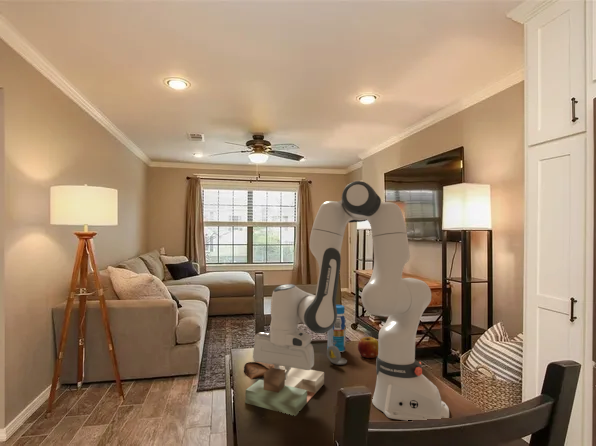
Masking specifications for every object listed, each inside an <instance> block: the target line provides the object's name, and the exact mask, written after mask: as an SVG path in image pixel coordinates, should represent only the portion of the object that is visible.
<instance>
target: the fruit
mask: <svg viewBox="0 0 596 446" xmlns="http://www.w3.org/2000/svg"><path fill="white" fill-rule="evenodd" d="M357 350H358V352H359V354H360V355H361V356H362V357H364V358H365V359H374V358H377V356H378V340H377V338H374V337H372V336H365V337H362V338H361V339H360V340H358V342H357Z"/></svg>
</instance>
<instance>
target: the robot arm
mask: <svg viewBox="0 0 596 446" xmlns="http://www.w3.org/2000/svg"><path fill="white" fill-rule="evenodd" d="M366 221H368V224H369V225H370V229H371V230H370V231H371V239H372V248H373V249H372V250H373V268H372V273H371V276H370V278H369V281H368V282H367V284H366V285H364V287H363V289H362V292H361V296H360V297H361V303H362V306H363V308H364V309H365V311H366V312H367V313H368V314H370V315H372V316H376V317H378V316H379V317H387V319H386V321H385V323H384V324H383V325H382V327H381V328H380V329H379V332H378V340H377V341H378V355H377V356H376V361H375V370H376V382H375V388H374V393H373V395H372V398H373V399H372V398H371V401H372V402H371V403H372V404H373V405H374V407H375V408H376V409H378V410H379V411H381V412H383V414H384V415H385V416H386V417H387V418H389V419H393V420H401V421H408V420H427V419H441V418H449V419H450V409H449V406H448V405H447V404H446V402H444V401H443V400H442V397H441V393H440V391H439V388H438V387H437V385H435V384H434V383H433V382H432V381H431V380H430V379H429V378H427V377H426V376H425V375H424V374H423V368H422V362H421V361H418V360H417V359H415V358H416V338H417V331H418V327H419V324H420V321H421V318H422V316H423V313H424V312H425V310H426V309H427V307H428V306H429V305H430V304H431V301H432V290H431V288H430V286H429V285H428V284H427V282H425V281H424V280H421V279H418V278H413V277H404V278H403V272H404V269H405V268H404V267H405V266H406V264H407V263H408V262H409V260H410V259H411V254H410V245H409V239H408V234H407V232H408V231H407V226H406V222H405V218H404V214H403V212H402V208H401V207H400V206H399V204H397V203H395V202H393V201H392V202H391V201H383V202H382V199H381V197H380V196H379V195H378V193H377V192H376V191H375V189H374V188H373V187H372V186H371V185H370V184H368V183H366V182H365V181H362V180H356V181H352V182H350V183H349V184H347V185H346V186H345V187H344V189H343V191H342V194H341V199H340V200H339V201H333V200H328V201H325V202H323V203H322V204H320V206H319V209H318V210H317V213H316V215H315V218H314V220H313V224H312V228H311V232H310V236H309V246H308V247H309V250H310V252H311V254H312V255H313V256H314V259H315V260H316V262H317V264H318V269H319V270H318V271H319V272H318V278H317V285H316V291H315V294H313V293H309V292H306V291H305V290H302V289H301V288H299V287H298V286H296V285H295V284H290V283H289V284H288V283H287V284H282V285H279V286H276V287H275V288H274V289H273V290H272V294H271V300H270V301H271V303H270V316H271V321H270V324H269V333H267V332H258V333H255V335H254V337H253V338H254V340H253V341H254V342H253V343H254V346H253V352H252V354H253V355H252V358H253V360H254V361H253V362H262V363H268V364H274V368H275V369H280V366H285V370H286V372H285V380H287V378H288V372H289V371H290V369H291V368H297V369H303V370H312V368H313V367H314V365H315V352H314V347H313V344H312V343H311V342H312V336H311V334H309V333H307V332H304V331H303V330H300V329H299V328H298V325H299V324H300V323H301V324H302V323H303V324H304V325H306V327H307V328H308V329H309V330H310V331H311V332H312V333H316V334H325V333H328V331H329V330H330V329H331V328H332V327H333V326H334V325H335V323H336V320H337V308H336V305H337V293H338V285H339V280H340V279H339V278H340V274H341V272H340V271H341V265H342V264H341V262H342V259H341V258H342V257H341V252H342V246H343V240H344V237H345V232H346V229H347V228H346V227H347V225H348V223H349V224H350V223H361V222H366Z"/></svg>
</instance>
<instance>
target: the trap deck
mask: <svg viewBox="0 0 596 446" xmlns="http://www.w3.org/2000/svg"><path fill="white" fill-rule="evenodd" d="M280 369H282V370H285V366H280ZM285 372H286V370H285ZM324 384H325V372H324V371H320V370H315V369H310V370H303V369H297V368H291V369H290V371H289V372H288V378H287V380H285V386H284V387H283V388H282V389H281V390H280V391H279V393H278V392H273V391H268V390H264V379H258V380H257V381H256V382H253V384H252V385H249V387H247V388H246V389H245V400H244V401H245V402H244V403H245V404H249V405H252V406H255V407H259V408H264V409H267V410H271V411H274V412H278V411H279V412H278V413H281V412H282V414H285V413H286V415H289V414H290V415H289V416H293V415H294V416H293V417H296V416H297V415H298V414H299V413H300V412H299V411H301V410H302V409H304V407H305V406H306V405H307V404H308V402H309V401H310V400H311V399H312V398H313V397H314V396H315V395H316V394H317V392H318V391H319V390H320V389H321V388H322V386H323V385H324Z"/></svg>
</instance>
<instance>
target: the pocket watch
mask: <svg viewBox="0 0 596 446" xmlns="http://www.w3.org/2000/svg"><path fill="white" fill-rule="evenodd" d="M333 341H335V340H333ZM331 342H332V340H331ZM335 342H336V341H335ZM335 342H334V343H333V342H332V343H333V344H334V345H332V346H330V347H329V348H328V349H326V357H327V358H328V360H329V362H331V363H332V364H333V365H338V366H339V365H341V366H342V365H346V364H347V363H348V360H347V359H346V358H345V357H342V356H341V353H340V351H339V349H338V348H337V347H336V346H335V344H336V343H335ZM331 351H332V352H331Z"/></svg>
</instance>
